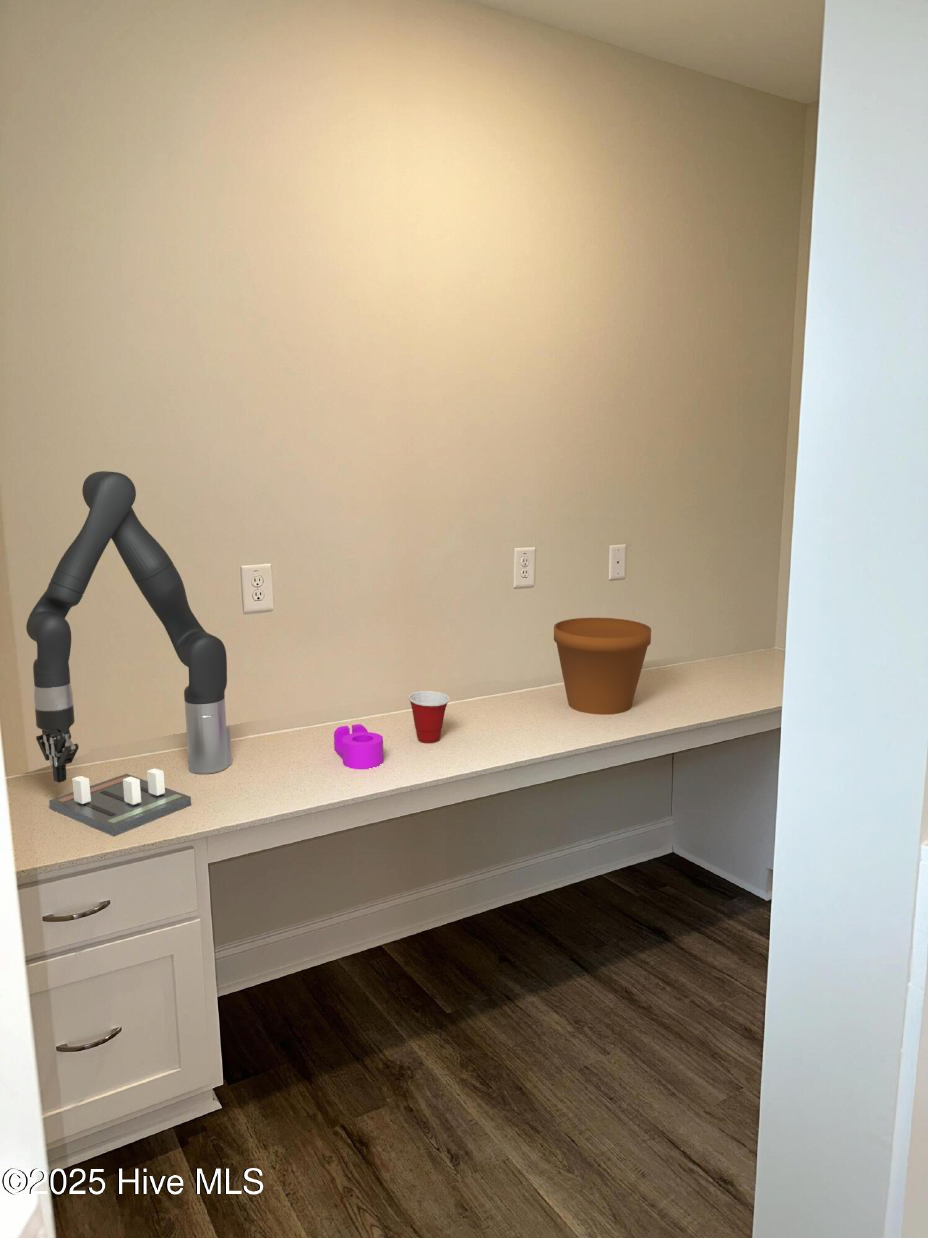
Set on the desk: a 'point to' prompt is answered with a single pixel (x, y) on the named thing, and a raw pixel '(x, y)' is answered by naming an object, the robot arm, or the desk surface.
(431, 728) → the plastic cup
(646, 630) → the flowerpot
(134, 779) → the switch middle
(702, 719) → the desk surface
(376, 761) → the tape dispenser
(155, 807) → the switch panel
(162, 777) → the switch
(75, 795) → the switch
